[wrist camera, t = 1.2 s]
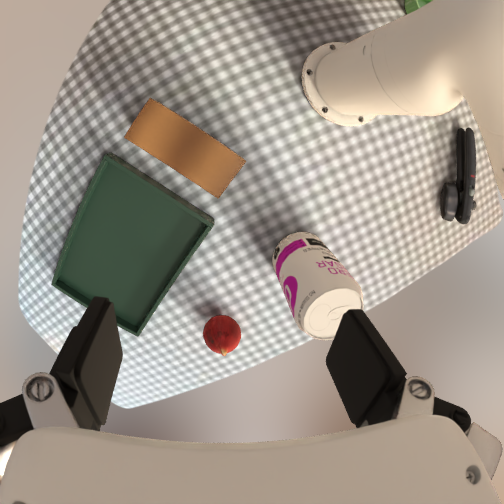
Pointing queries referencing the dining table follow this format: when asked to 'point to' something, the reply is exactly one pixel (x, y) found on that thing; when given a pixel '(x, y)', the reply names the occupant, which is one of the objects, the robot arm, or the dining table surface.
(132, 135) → the tan wooden block
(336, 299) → the supplement can
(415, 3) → the ramekin
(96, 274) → the tray
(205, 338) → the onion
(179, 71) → the dining table surface
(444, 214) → the can opener
